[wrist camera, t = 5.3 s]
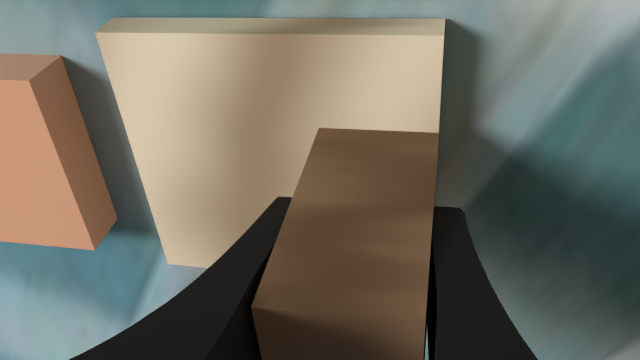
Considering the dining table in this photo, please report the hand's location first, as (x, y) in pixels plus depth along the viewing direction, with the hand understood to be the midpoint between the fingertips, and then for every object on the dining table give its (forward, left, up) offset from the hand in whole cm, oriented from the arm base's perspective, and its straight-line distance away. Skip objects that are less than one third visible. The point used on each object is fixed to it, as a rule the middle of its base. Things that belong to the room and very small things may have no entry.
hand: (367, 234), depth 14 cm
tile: (0, +12, -4) cm, 13 cm away
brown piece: (0, +3, -3) cm, 4 cm away
